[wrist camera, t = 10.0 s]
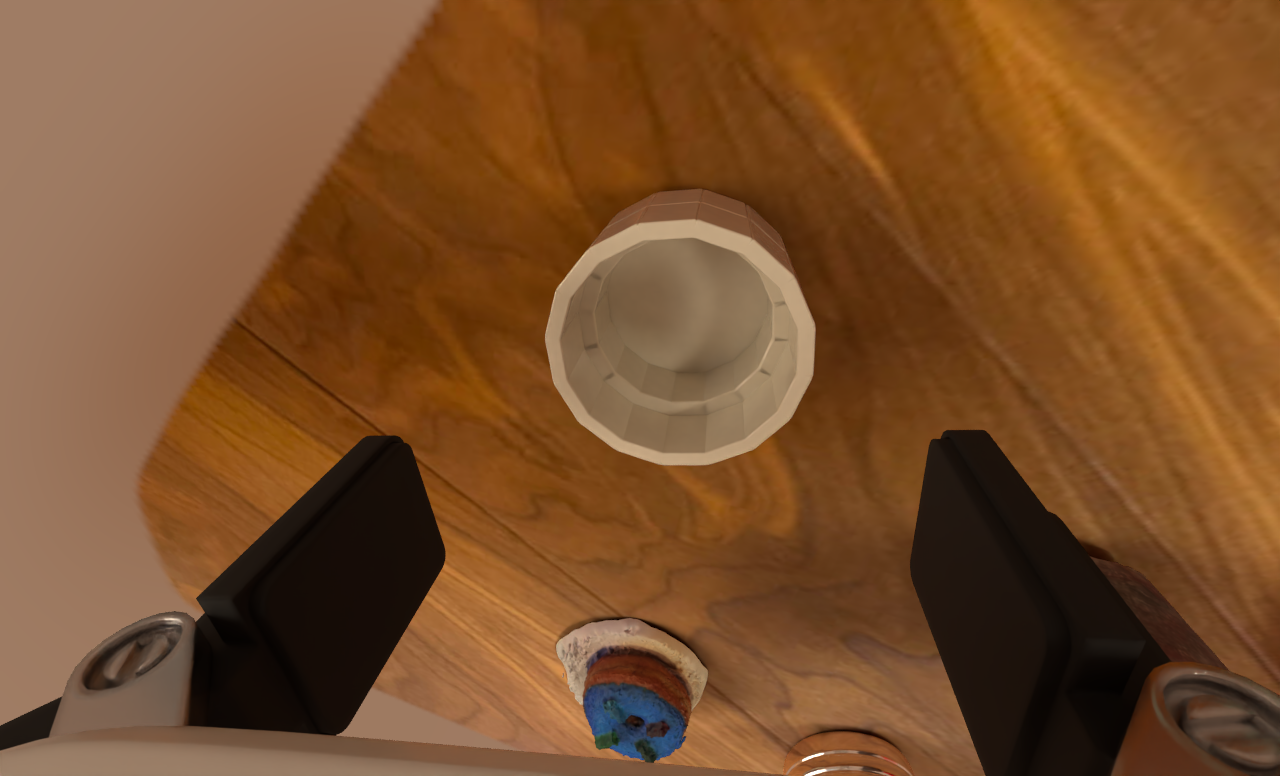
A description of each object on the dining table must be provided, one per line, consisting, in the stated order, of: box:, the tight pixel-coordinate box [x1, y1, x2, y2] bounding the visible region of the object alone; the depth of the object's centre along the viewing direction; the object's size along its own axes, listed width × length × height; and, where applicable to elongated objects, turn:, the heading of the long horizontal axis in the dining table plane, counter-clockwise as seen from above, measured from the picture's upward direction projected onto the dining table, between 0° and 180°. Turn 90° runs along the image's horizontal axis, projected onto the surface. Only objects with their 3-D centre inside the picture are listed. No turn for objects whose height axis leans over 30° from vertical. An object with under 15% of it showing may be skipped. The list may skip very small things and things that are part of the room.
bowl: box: [545, 189, 816, 465], centre depth 17 cm, size 7×7×5 cm
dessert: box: [556, 618, 708, 763], centre depth 29 cm, size 8×7×6 cm
